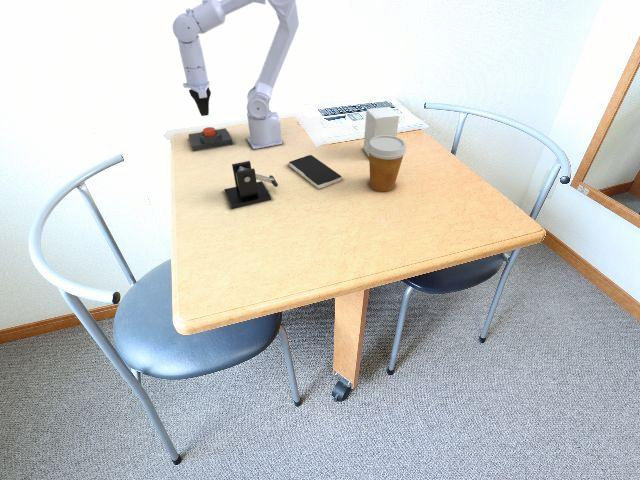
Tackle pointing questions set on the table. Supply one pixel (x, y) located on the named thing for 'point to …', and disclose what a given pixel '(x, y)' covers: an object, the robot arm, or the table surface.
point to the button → (209, 131)
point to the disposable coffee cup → (385, 161)
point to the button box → (210, 140)
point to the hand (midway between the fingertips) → (204, 114)
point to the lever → (262, 177)
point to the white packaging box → (380, 124)
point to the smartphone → (315, 171)
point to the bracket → (246, 187)
